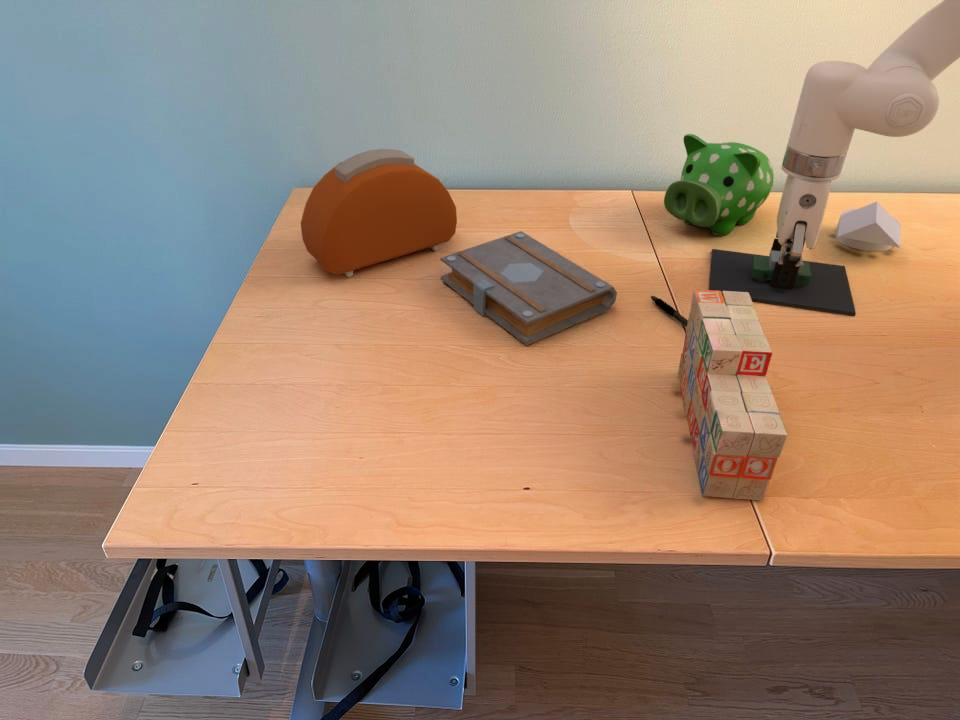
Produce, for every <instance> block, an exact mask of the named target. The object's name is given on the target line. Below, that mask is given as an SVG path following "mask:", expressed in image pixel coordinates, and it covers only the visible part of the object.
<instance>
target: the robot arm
mask: <svg viewBox="0 0 960 720" xmlns="http://www.w3.org/2000/svg"><path fill="white" fill-rule="evenodd" d="M959 59H960V0H942V1H941V2H939V3H938V4H936V5H935V6H933V7H932V8H930V10H928V11H927V12H925V13H924V14H923V15H922V16H920V17H919V18H918V19H917V20H915V22H913V23H912V24H911V25H910V26H909V27H908V28H907V29H905V30H904V31H903V33H901V34H900V35H899V36H898V37H897V38H896V39H895V40H894V41H893V42H892V43H891V44H889V46H888V47H887V48H885V50H884V51H882V52H881V53H880V54H879V55H878V57H876V58H875V59H874V60H873V62H871V64H870V65H868V67H867V68H866V67H864V66H862V65H860V64H858V63H855V62H849V61H843V60H842V61H841V60H824V61H820V62H817V63H814V64H813V65H811V66H810V67H809V69H808V70H807V72H806V74H805V76H804V80H803V84H802V88H801V90H800V91H801V92H800V95H799V99H798V103H797V106H796V110H795V114H794V118H793V121H792V125H791V129H790V132H789V136H788V141H787V145H786V148H785V151H784V155H783V159H782V163H781V166H780V167H781V170H782V171H783V172H784V173H785V174H786V180H785V183H784V187H783V190H782V193H781V198H780V202H779V205H778V211H777V216H776V234H775V238H773V242H772V245H771V249H770V251H771V250H774V251H781V252H780V256H779V261H778V262H777V261H776V263H775V267H774V270H773V274H772V277H771V281H770V287H773V288H780V289H787V290H792V289H793V287H794V283H795V280H796V277H797V274H798V270H799V267H800V261H801V257H802V258H803V252H804V247H805V246H806V249H808V250H813V249H815V248H816V245H817V242H818V238H819V235H820V231H821V228H822V223H823V220H824V217H825V212H826V208H827V205H828V200H829V195H830V191H831V185H832V181H834V180H835V181H836V180H837V179H838V178H840V176H841V173H842V170H843V168H844V163H845V161H846V157H847V154H848V151H849V148H850V145H851V142H852V139H853V135H854V132H855V130H859V131H864V132H867V133H868V132H869V133H872V134H874V135H875V134H877V135H879V136H884V137H890V138H891V137H892V138H904V137H908V136H912V135H914V134H917V133H919V132H920V131H922V130H924V129H925V128H927V126H929V125H930V123H932V121H933V120H934V118H935V117H936V116H937V115H936V114H937V113H938V110H939V105H940V98H939V93H938V91H937V88H936V86H935V85H934V82H932V81H934V80H935V79H936V78H937V77H938V76H939V75H940V74H941V73H943V72H944V71H945V70H946V69H947V68H948V67H950V66H951V65H952V64H953V63H954V62H956V61H958V60H959ZM785 252H790V253H787V254H786V255H785Z"/></svg>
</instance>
